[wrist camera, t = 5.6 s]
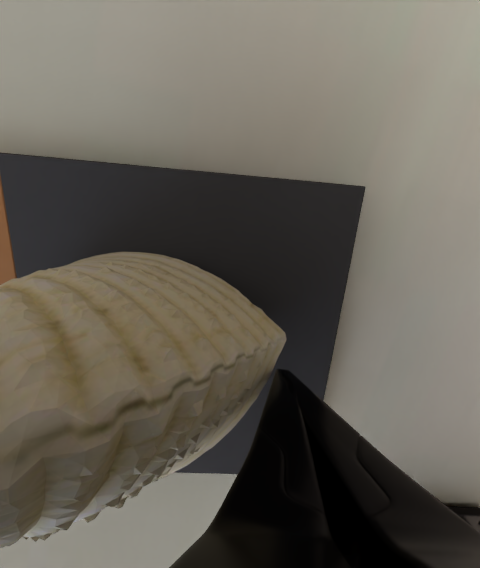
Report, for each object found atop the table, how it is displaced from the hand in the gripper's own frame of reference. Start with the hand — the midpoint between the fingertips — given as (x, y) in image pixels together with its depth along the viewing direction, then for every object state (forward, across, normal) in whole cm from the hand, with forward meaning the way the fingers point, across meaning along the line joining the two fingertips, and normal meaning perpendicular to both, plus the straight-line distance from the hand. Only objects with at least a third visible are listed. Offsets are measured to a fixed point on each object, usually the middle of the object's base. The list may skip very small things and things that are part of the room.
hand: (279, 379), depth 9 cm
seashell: (+2, +5, 0) cm, 6 cm away
